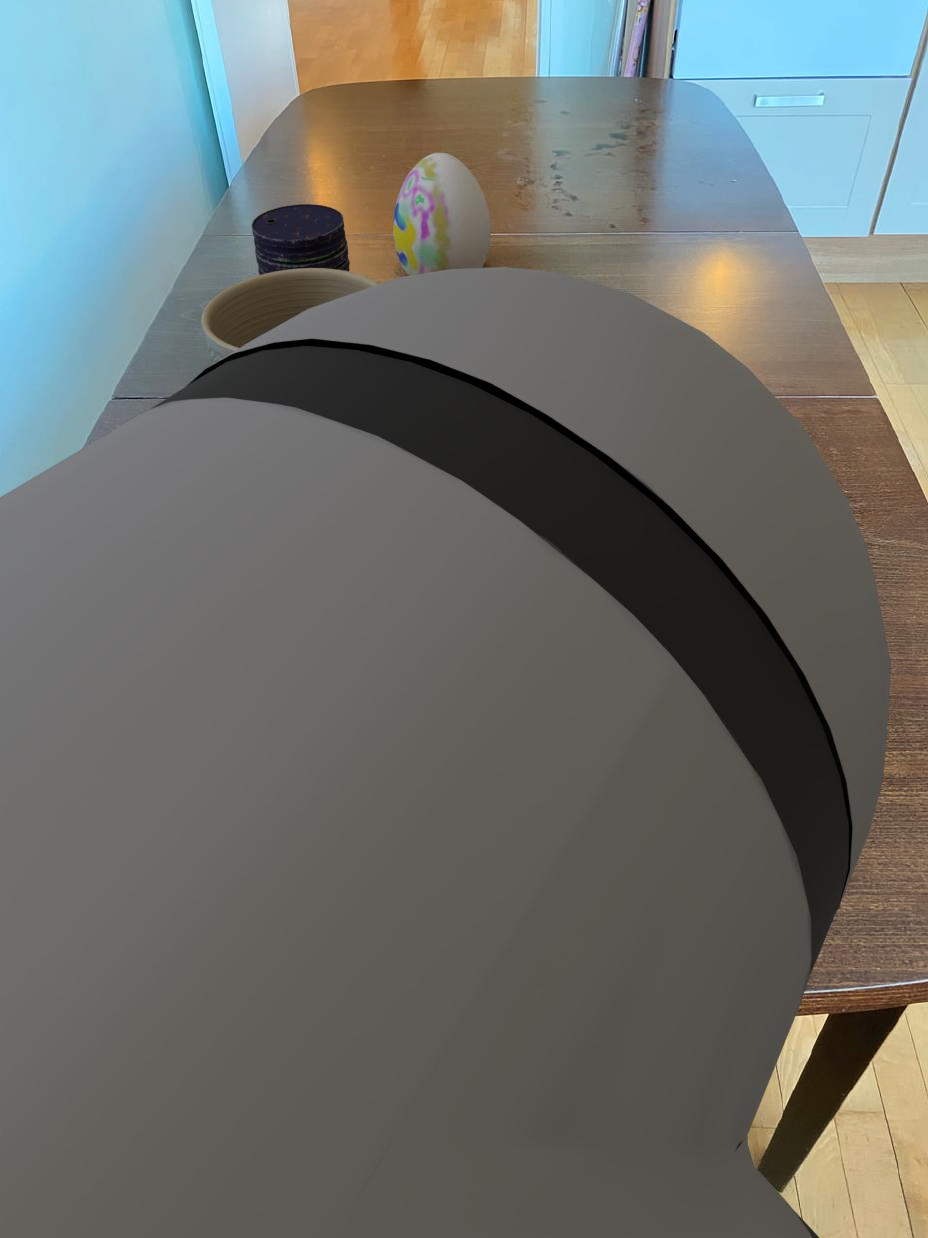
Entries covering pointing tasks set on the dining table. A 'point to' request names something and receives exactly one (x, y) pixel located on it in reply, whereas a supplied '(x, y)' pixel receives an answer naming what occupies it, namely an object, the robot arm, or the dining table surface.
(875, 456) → the dining table surface
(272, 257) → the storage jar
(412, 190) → the decorative egg
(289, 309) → the planter
